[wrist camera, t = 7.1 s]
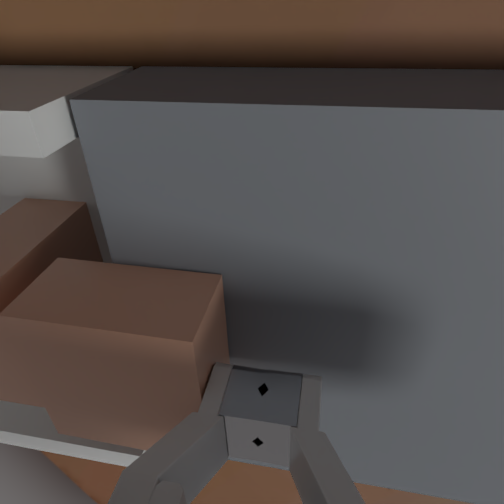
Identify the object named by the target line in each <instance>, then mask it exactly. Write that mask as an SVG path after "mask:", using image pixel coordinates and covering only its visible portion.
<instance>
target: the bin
mask: <svg viewBox="0 0 504 504" xmlns="http://www.w3.org/2000/svg"><path fill="white" fill-rule="evenodd" d="M131 71H133V66H51V65H0V215H1V214H2V213H4V212H5V211H7V210H8V209H9V208H11V207H12V206H14V205H15V204H17V203H18V202H19V201H21V200H22V199H24V198H32V199H47V200H62V201H77V202H86V204H87V207H88V211H89V214H90V218H91V221H92V224H93V228H94V231H95V235H96V238H97V242H98V245H99V249H100V252H101V256H102V259H103V262H105V263H113V262H112V259H111V255H110V251H109V247H108V244H107V240H106V236H105V232H104V229H103V225H102V221H101V217H100V214H99V210H98V206H97V202H96V199H95V195H94V191H93V187H92V184H91V180H90V176H89V172H88V169H87V165H86V161H85V157H84V154H83V150H82V146H81V142H80V139H79V135H78V131H77V127H76V124H75V120H74V116H73V112H72V109H71V105H70V101H69V99H71V98H74V97H76V96H78V95H80V94H82V93H85V92H87V91H89V90H91V89H93V88H96V87H98V86H100V85H102V84H104V83H106V82H109V81H111V80H113V79H115V78H117V77H120V76H122V75H124V74H126V73H128V72H131ZM0 443H5V444H10V445H15V446H20V447H26V448H31V449H36V450H41V451H47V452H52V453H57V454H63V455H68V456H73V457H78V458H84V459H89V460H94V461H99V462H105V463H110V464H115V465H121V466H126V467H128V466H129V465H130V464H131V463H133V462H134V461H135V460H136V459H137V458H138V457H140V456H141V455H142V454H143V453H144V452H146V450H141V449H136V448H131V447H126V446H121V445H115V444H110V443H105V442H100V441H95V440H90V439H85V438H79V437H74V436H69V435H64V434H59V433H58V432H57V430H56V428H55V426H54V424H53V422H52V420H51V418H50V416H49V414H48V412H47V410H46V408H44V407H38V406H32V405H26V404H20V403H14V402H8V401H2V400H0Z"/></svg>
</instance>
